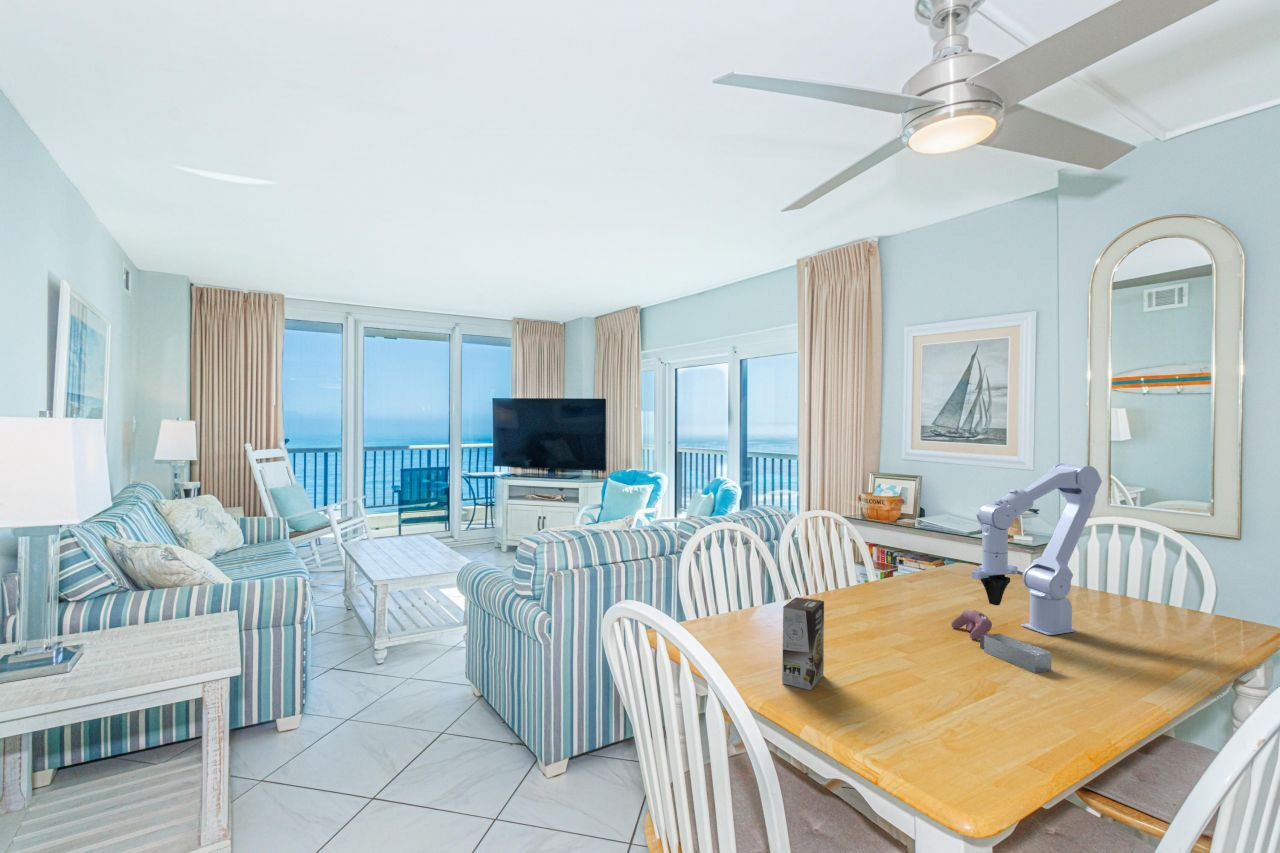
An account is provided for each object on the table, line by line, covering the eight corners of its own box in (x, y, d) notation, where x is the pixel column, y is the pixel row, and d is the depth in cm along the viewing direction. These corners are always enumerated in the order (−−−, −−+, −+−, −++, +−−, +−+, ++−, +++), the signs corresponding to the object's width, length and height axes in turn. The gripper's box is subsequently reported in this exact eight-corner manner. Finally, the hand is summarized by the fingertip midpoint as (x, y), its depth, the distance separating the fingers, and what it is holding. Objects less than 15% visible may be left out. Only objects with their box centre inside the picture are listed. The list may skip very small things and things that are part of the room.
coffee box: (812, 691, 126) (812, 611, 126) (781, 683, 129) (781, 606, 129) (824, 675, 134) (825, 600, 133) (795, 669, 137) (795, 595, 137)
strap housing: (999, 649, 149) (999, 633, 149) (1051, 670, 137) (1051, 652, 137) (984, 651, 147) (984, 635, 147) (1034, 673, 135) (1035, 655, 135)
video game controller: (986, 646, 155) (998, 621, 155) (970, 638, 155) (983, 613, 155) (963, 633, 165) (975, 609, 165) (948, 625, 165) (960, 601, 165)
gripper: (999, 546, 167) (999, 596, 167) (961, 550, 161) (960, 603, 161) (1025, 551, 161) (1025, 604, 161) (985, 556, 155) (985, 611, 155)
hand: (994, 604), depth 161 cm, fingers closed
